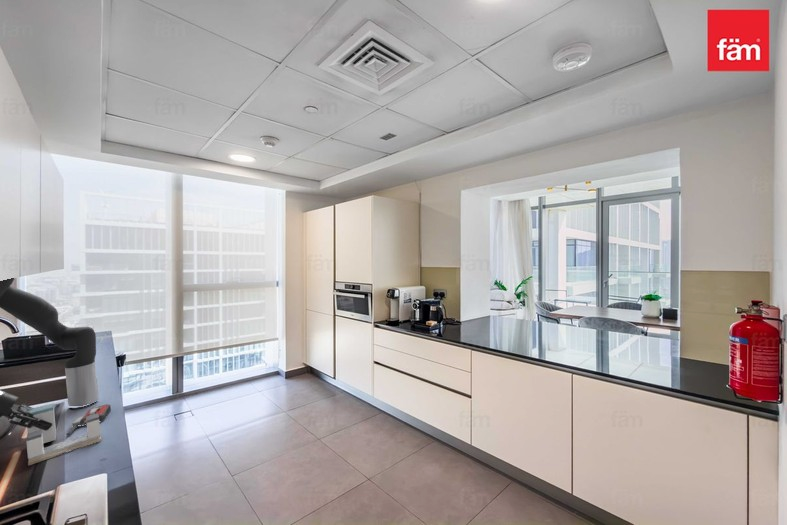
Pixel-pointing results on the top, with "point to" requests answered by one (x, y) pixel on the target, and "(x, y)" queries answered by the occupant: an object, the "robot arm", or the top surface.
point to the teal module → (46, 415)
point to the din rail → (64, 445)
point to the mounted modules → (36, 437)
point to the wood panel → (62, 451)
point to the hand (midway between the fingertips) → (50, 424)
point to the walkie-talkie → (101, 411)
